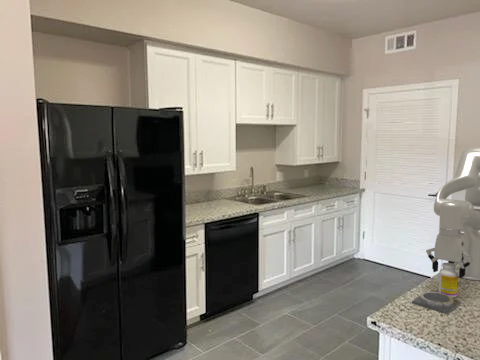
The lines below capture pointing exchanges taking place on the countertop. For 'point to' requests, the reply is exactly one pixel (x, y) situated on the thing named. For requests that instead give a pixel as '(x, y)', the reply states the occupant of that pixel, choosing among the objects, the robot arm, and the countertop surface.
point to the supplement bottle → (448, 280)
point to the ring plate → (444, 310)
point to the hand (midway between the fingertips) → (448, 274)
